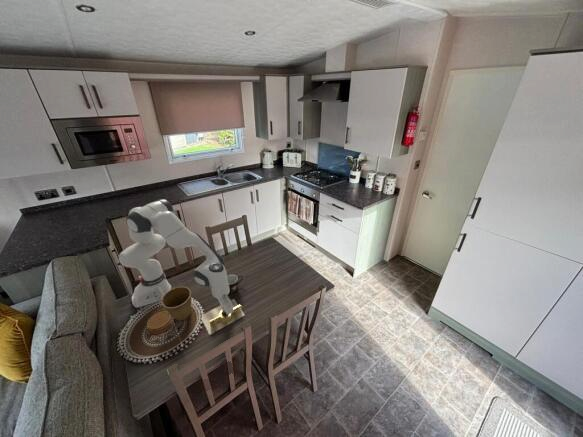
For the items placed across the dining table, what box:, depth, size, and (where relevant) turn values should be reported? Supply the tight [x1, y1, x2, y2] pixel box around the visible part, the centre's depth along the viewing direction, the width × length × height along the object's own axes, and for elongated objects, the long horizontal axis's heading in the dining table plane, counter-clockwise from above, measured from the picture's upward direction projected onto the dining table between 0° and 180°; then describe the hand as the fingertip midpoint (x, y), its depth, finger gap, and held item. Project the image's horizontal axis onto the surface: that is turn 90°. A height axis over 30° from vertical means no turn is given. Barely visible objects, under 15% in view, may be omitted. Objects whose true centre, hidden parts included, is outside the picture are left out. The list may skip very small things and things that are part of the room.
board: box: [200, 298, 245, 335], centre depth 138 cm, size 21×15×1 cm
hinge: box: [209, 304, 243, 328], centre depth 134 cm, size 18×6×5 cm, turn 127°
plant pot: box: [161, 286, 192, 322], centre depth 134 cm, size 15×15×16 cm
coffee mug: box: [227, 274, 243, 294], centre depth 153 cm, size 12×9×10 cm
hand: (224, 307), depth 131 cm, fingers closed on pin, 3 cm apart
